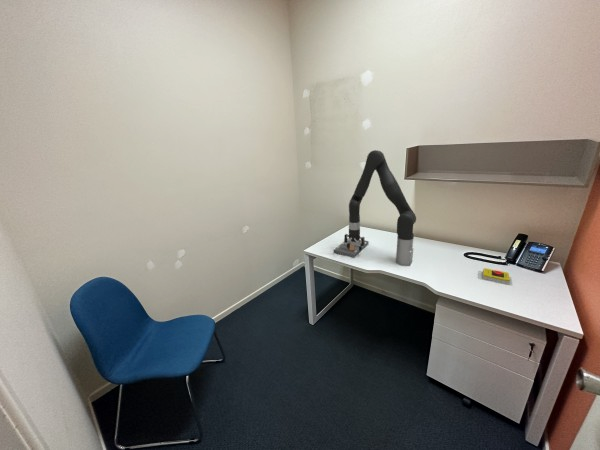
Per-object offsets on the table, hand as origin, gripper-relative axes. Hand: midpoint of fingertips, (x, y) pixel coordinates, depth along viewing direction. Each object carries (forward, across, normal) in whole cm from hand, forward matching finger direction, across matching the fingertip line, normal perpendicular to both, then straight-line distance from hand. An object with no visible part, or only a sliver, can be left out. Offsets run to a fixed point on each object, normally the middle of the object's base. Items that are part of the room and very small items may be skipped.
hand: (354, 249), depth 175 cm
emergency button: (+4, -79, -8) cm, 80 cm away
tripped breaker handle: (+1, +2, 0) cm, 2 cm away
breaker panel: (+4, +6, -8) cm, 11 cm away
